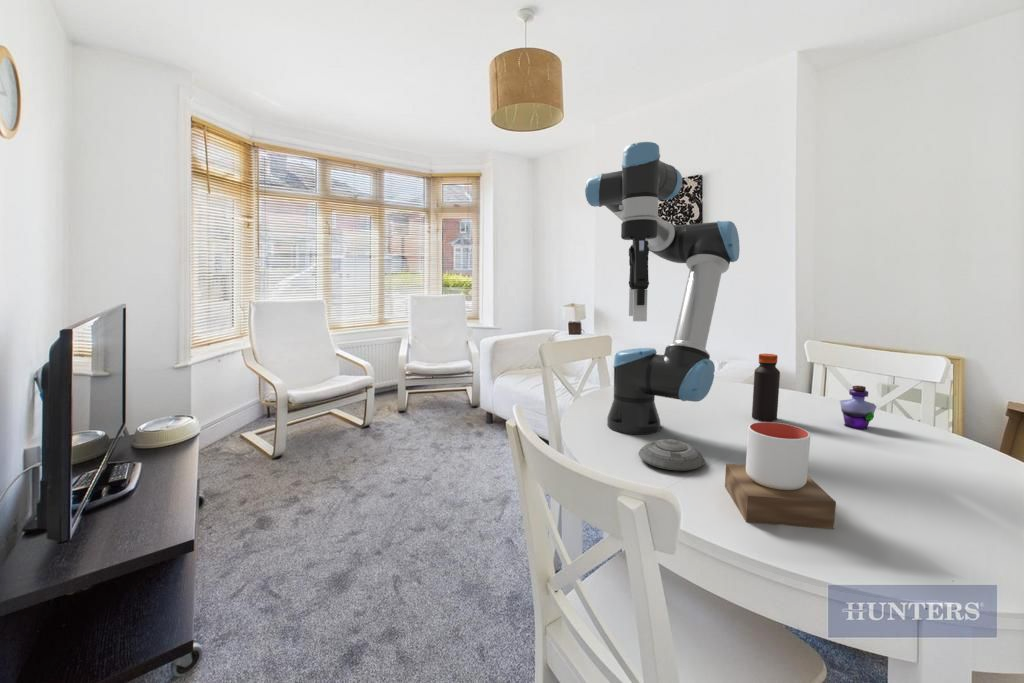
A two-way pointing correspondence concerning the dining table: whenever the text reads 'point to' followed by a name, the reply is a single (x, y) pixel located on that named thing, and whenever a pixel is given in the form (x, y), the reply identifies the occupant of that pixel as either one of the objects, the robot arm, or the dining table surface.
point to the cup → (777, 455)
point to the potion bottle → (857, 409)
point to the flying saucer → (671, 455)
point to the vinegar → (766, 389)
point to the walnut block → (779, 501)
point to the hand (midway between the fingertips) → (637, 318)
